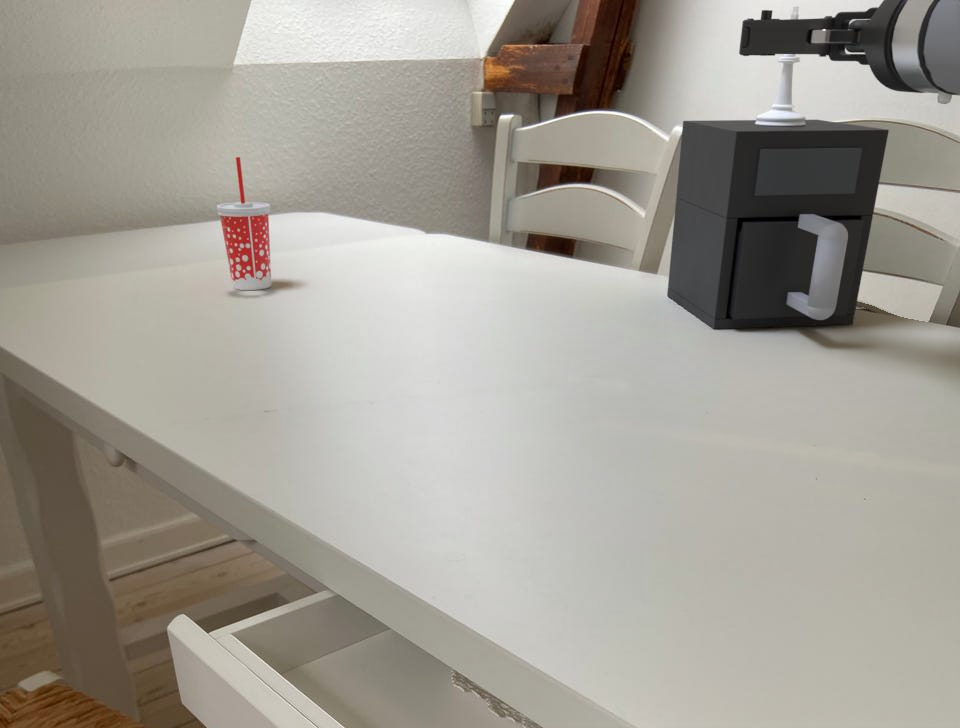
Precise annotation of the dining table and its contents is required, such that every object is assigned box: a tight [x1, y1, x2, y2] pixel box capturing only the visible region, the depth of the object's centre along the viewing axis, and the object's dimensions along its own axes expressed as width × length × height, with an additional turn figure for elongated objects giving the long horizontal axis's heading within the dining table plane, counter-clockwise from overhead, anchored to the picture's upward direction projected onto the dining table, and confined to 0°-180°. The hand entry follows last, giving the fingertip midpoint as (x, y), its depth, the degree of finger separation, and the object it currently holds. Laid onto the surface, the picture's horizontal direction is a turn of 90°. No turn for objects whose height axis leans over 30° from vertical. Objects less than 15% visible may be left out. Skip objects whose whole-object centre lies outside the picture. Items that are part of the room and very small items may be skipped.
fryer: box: [666, 119, 889, 330], centre depth 105 cm, size 16×15×18 cm
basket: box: [727, 214, 863, 320], centre depth 102 cm, size 23×12×10 cm, turn 8°
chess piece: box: [755, 6, 807, 126], centre depth 98 cm, size 5×5×10 cm
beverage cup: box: [216, 156, 272, 291], centre depth 117 cm, size 6×6×14 cm
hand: (816, 38), depth 92 cm, fingers open, 13 cm apart
